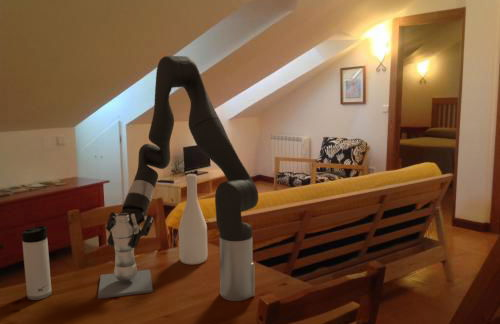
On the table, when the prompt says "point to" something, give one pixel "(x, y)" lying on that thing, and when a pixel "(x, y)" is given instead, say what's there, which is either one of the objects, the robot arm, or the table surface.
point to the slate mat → (124, 285)
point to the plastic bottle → (124, 248)
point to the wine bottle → (192, 227)
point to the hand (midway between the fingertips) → (121, 246)
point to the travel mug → (36, 263)
